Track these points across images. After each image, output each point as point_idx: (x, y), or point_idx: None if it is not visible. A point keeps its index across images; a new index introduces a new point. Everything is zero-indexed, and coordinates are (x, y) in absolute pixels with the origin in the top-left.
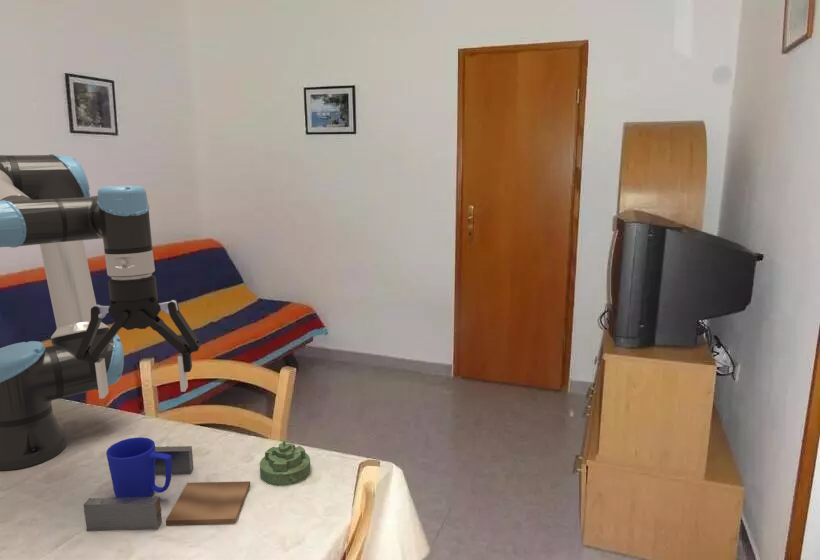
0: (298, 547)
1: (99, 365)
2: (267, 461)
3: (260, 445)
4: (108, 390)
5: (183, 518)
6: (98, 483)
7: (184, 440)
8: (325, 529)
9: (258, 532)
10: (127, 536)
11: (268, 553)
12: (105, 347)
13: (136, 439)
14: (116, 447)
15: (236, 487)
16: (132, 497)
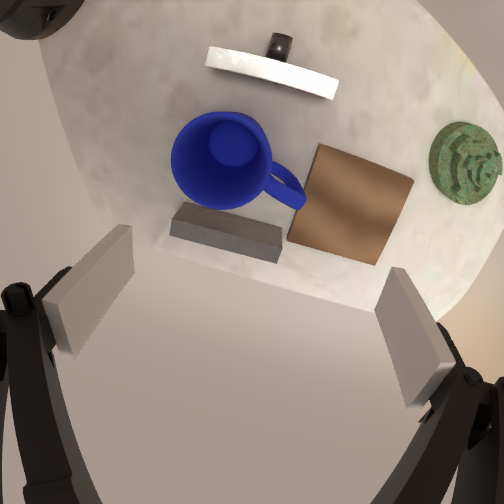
0: None
1: (78, 349)
2: (450, 153)
3: (443, 53)
4: (128, 230)
5: (311, 243)
6: (165, 86)
7: None
8: (448, 297)
9: None
10: None
11: None
12: (60, 399)
13: (225, 117)
14: (186, 136)
15: (393, 190)
16: (239, 236)
